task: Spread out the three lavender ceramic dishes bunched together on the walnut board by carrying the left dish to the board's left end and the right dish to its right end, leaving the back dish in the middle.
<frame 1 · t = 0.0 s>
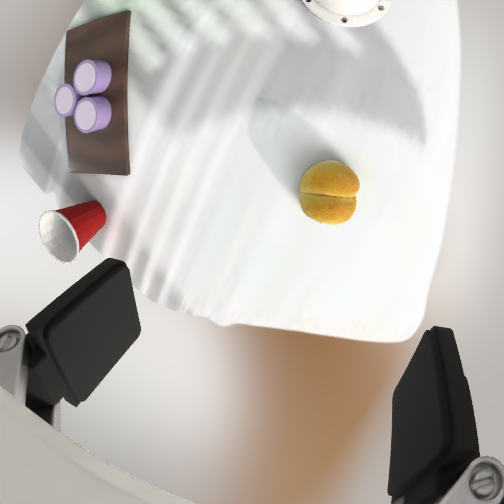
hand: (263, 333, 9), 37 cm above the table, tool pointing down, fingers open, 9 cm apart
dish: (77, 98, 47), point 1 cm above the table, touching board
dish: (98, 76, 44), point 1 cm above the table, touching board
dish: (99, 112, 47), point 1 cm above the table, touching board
board: (94, 95, 47), on the table
plastic cup: (97, 214, 59), on the table
bread roll: (330, 191, 43), on the table
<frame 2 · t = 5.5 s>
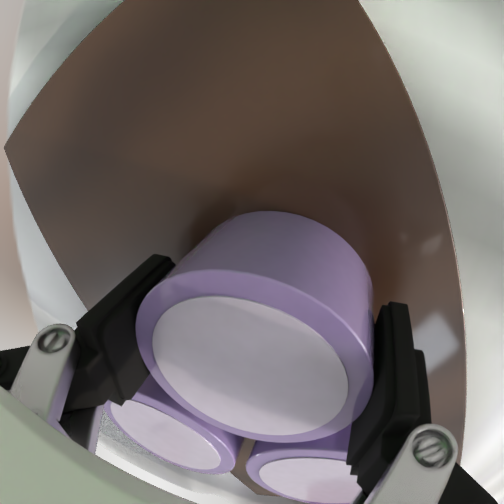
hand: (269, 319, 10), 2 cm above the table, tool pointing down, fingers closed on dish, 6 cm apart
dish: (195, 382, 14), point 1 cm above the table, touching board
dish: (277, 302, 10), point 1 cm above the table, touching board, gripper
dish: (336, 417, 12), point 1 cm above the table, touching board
board: (273, 359, 13), on the table
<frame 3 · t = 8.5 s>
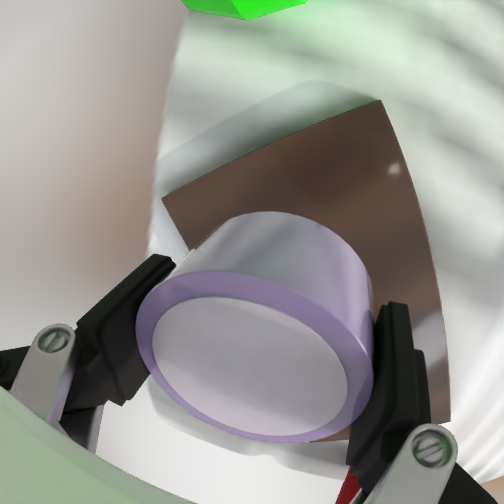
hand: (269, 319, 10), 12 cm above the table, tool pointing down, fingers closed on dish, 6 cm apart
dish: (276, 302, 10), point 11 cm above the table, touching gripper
board: (342, 331, 23), on the table
plastic cup: (375, 461, 32), on the table
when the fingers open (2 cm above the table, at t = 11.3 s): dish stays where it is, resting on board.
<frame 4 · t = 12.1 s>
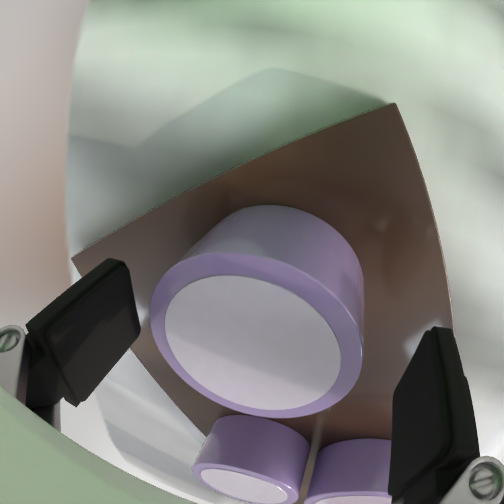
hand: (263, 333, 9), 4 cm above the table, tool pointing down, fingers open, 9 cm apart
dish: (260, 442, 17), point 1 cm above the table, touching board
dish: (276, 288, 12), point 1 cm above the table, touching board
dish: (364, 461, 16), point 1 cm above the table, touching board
board: (321, 426, 16), on the table
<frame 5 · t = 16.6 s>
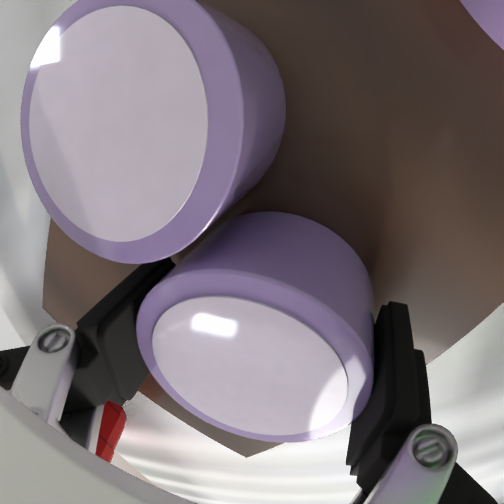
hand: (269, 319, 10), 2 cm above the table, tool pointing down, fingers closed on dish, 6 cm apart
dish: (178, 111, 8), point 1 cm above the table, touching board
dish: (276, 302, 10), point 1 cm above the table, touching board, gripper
board: (293, 178, 9), on the table
plastic cup: (102, 400, 22), on the table
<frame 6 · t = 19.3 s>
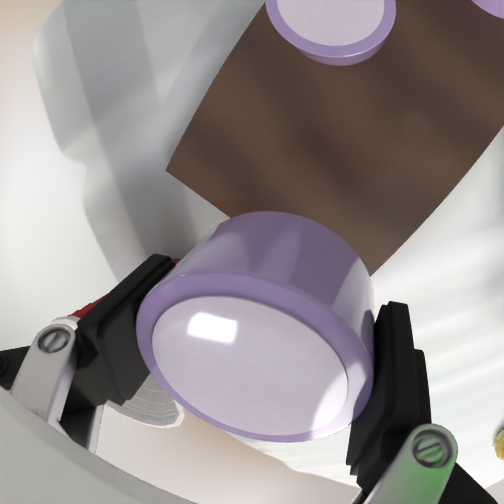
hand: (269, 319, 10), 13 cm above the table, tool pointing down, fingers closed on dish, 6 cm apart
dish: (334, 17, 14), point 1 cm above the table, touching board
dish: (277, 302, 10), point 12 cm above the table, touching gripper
board: (389, 57, 15), on the table
plastic cup: (187, 288, 28), on the table
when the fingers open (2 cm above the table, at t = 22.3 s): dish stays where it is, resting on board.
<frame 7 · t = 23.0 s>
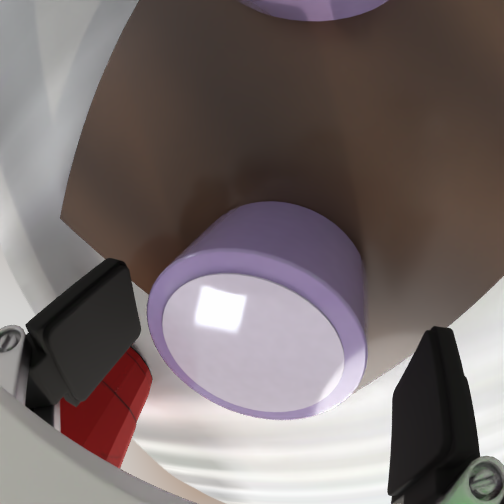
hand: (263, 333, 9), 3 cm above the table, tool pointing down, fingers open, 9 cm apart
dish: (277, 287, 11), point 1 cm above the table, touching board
board: (415, 11, 6), on the table
plastic cup: (121, 361, 19), on the table
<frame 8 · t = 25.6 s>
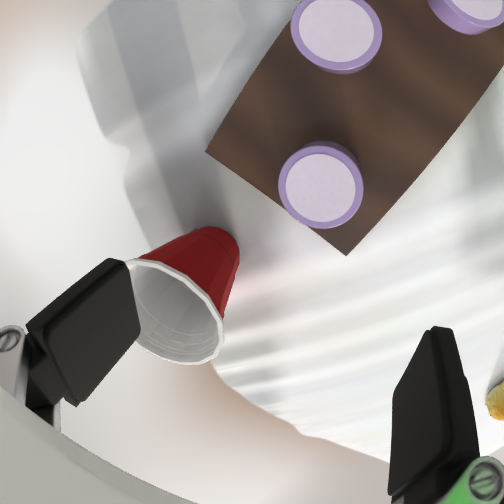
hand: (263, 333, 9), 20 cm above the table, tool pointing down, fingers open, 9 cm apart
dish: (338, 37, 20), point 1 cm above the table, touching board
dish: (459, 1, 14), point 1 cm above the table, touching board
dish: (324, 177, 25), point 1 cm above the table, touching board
board: (378, 67, 21), on the table
plastic cup: (216, 251, 33), on the table
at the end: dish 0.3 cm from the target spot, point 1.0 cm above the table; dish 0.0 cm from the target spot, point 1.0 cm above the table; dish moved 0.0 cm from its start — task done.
